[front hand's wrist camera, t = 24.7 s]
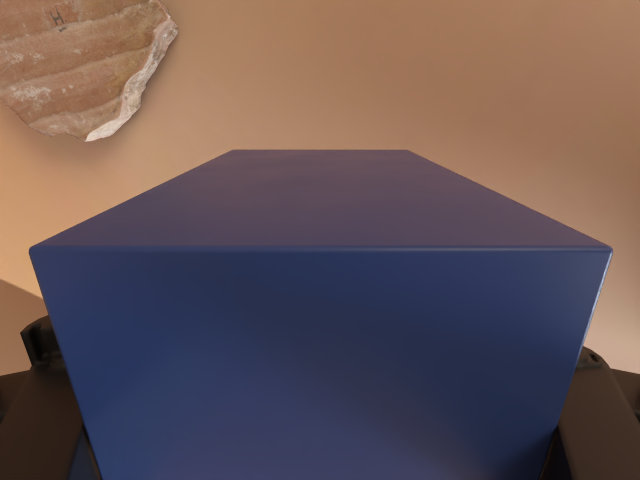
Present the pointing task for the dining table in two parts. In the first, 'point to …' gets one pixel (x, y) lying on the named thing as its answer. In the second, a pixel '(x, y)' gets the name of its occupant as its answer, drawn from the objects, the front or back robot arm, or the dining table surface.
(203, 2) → the dining table surface
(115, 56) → the stone
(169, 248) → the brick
